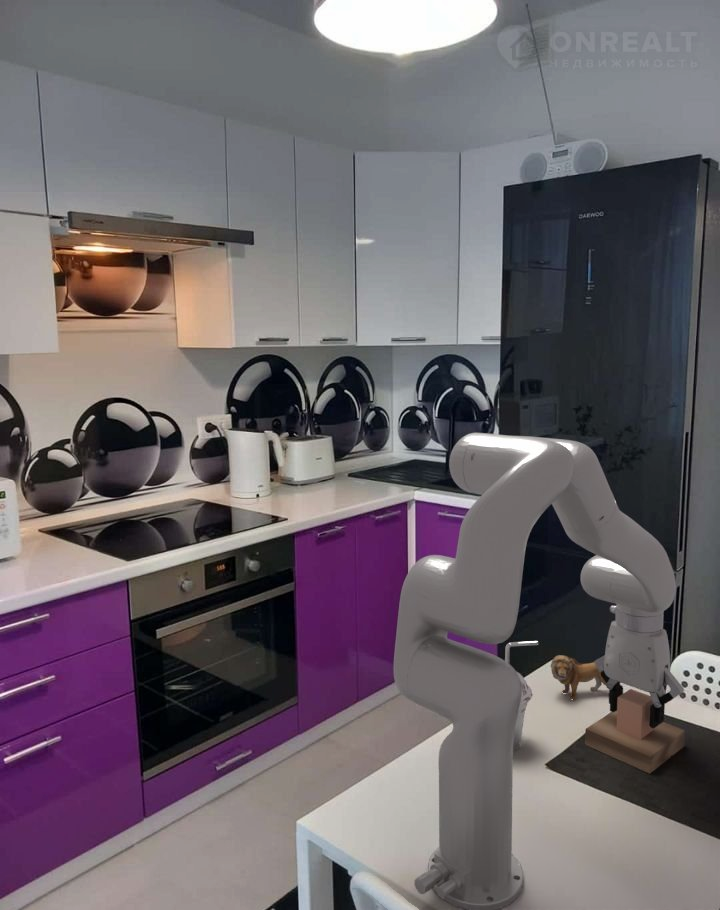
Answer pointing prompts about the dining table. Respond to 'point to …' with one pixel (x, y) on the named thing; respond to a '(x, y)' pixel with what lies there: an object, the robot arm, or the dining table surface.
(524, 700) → the cup with straw
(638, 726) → the terracotta block
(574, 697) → the lion figurine
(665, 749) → the walnut base
